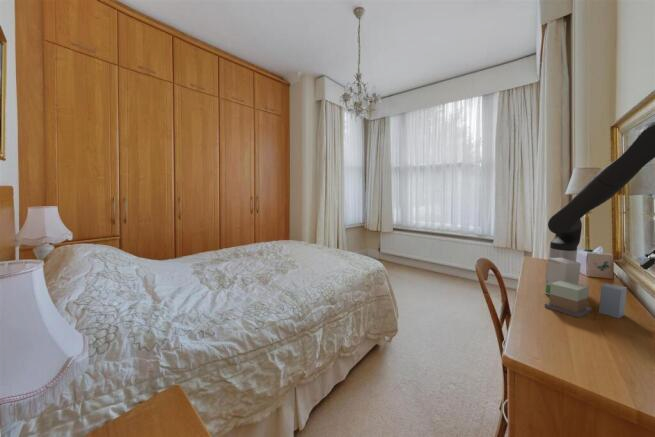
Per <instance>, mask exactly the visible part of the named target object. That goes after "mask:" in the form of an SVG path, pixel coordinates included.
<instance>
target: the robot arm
mask: <svg viewBox="0 0 655 437" xmlns="http://www.w3.org/2000/svg"><path fill="white" fill-rule="evenodd" d="M653 159H655V121H653V122H651V123H647V124H646V125H644V126H643V127H642V128H641V129H640V130H639V132H638V133H637V137H636V138H635V139H634V140H633V142H632V143H631V145H629V146H628V148H627V149H625V151H624V152H622V153H621V155H620V156H619V157H618V158H616V159H615V160H614V161H612V162H610V163H609V164H608V165H606V166H605V167H604V168H603V169H601V170H600V171H599V172H598V173H597V174H595V176H593V177H592V178H591V180H589V181H588V183H587V184H586V185H585V186H584V187H583V188H582V189H581V190H580V191H579V192H578V193H576V195H575V196H574V197H573V198H572V199H571V200H570V201H569V202H568V203H567V204H566V205H564V207H562V208H561V209H559V210H558V211H557V212H556V213H554V214H553V215H552V216H551V217H550V218H549V220H548V221H547V227H548V230H549V231H550V232H551V233H553V234H555V236H554V238H553V239H552V240H551V241H550V245H549V257H548V258H564V259H568V260H572V261H575V262H577V254H578V246H579V245H580V242H581V237H582V228H583V226H582V220H581V219H582V218H583V217H584V216H585V215H586V214H588V212H589V213H590V211H592V210H594V209H596V208H597V207H599V206H601V205H602V204H604V203H606V202H608V201H609V200H610V199H611V198H613V197H614V196H615V195H616V194H617V193H619V192H620V191H621V190H622V189H623V188H625V186H626V185H627V184H628V183H629V182H630V181H632V179H633V178H634V177H635V176H636V175H637V174H638V173H639V172H640V171H641V169H643V167H645V166H646V165H647V164H648V163H650V162H651V161H652V160H653ZM643 255H644V256H645V258H646V259H645V260H644V261H642V262H641V263H640V265H639V266H640V267H641V268H642V269H643V270H647V271H648V269H649V268H651V267H652V266H654V265H655V246H654V247H652V248H651V249H649V250H648V251H647V252H645V253H644V254H643ZM547 267H548V262H547V263H546V270H545V278H546V277H547Z"/></svg>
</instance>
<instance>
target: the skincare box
mask: <svg viewBox="0 0 655 437" xmlns="http://www.w3.org/2000/svg"><path fill="white" fill-rule="evenodd" d="M547 263H548V267H547V266H546V268H547V277H546V276H545V286H544V287H545V288H544V294H545V295H548V296H550V287H551V283H554V282H557V281H560V280H563V281H567V282H572V283H576V284H579V281H580V273H581V272H580V271H581V265H582V263H581V262H577V261H576V262H575V261H572V260H568V259H564V258H549V257H548V258H547Z"/></svg>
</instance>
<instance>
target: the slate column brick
mask: <svg viewBox="0 0 655 437" xmlns="http://www.w3.org/2000/svg"><path fill="white" fill-rule="evenodd" d="M627 290H628V287H626V286H622V285H619V284H617V285H616V284H611V283H604V284H602V285H601V286H600V296H599V306H598V314H602V315H606V316H609V317H613V318H616V319H620V318H622V317H624V316H625V314H626V313H625V311H626V301H627Z"/></svg>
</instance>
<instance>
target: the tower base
mask: <svg viewBox="0 0 655 437" xmlns="http://www.w3.org/2000/svg"><path fill="white" fill-rule="evenodd" d="M588 299H589V286H588V285H584V284H580V283H578V284H576V283H572V282H567V281H563V280H560V281H557V282H554V283H551V287H550V295H549V301H548V302H545V303H544V308H547V309H550V310H553V311H556V312H559V313H563V314H565V315H569V316H571V317H572V316H573V317H574V318H579V319H580V318H582V317H583V316H586V315H587V314H589V313H591V312H592V311H593V310H592V309H593V308H592V307H589V306H588Z"/></svg>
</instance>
